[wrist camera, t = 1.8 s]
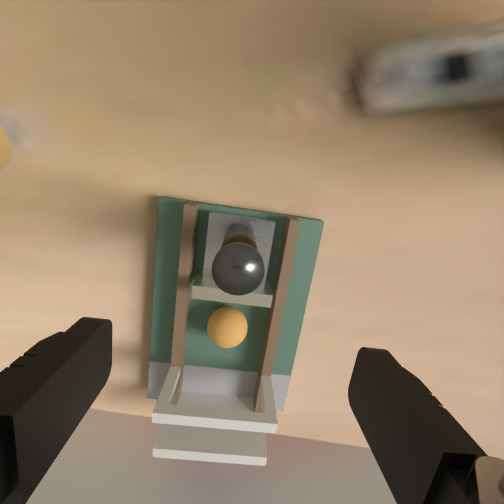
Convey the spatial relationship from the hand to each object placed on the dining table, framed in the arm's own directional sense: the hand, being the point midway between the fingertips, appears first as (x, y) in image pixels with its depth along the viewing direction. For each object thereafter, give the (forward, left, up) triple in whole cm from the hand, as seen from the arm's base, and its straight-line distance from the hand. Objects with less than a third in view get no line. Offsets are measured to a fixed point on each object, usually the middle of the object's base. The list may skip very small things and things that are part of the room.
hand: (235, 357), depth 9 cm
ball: (+9, 0, -17) cm, 19 cm away
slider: (+1, 0, -18) cm, 18 cm away
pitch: (+9, 0, -20) cm, 22 cm away
